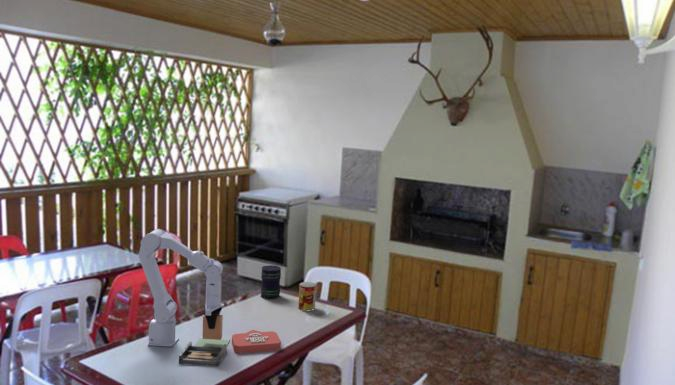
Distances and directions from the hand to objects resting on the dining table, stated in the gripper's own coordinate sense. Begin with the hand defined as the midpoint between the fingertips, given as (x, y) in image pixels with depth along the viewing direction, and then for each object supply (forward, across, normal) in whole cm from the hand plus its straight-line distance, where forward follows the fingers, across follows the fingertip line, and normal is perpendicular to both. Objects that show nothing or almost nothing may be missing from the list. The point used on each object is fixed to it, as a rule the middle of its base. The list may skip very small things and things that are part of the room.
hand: (212, 327), depth 195 cm
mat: (+7, 0, 0) cm, 7 cm away
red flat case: (+8, +3, -16) cm, 18 cm away
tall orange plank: (+4, 0, 0) cm, 4 cm away
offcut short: (+7, -13, 0) cm, 15 cm away
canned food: (+7, +47, -33) cm, 58 cm away
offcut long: (+7, -16, 0) cm, 17 cm away
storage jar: (+7, +62, -13) cm, 64 cm away
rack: (+7, -12, 0) cm, 14 cm away
